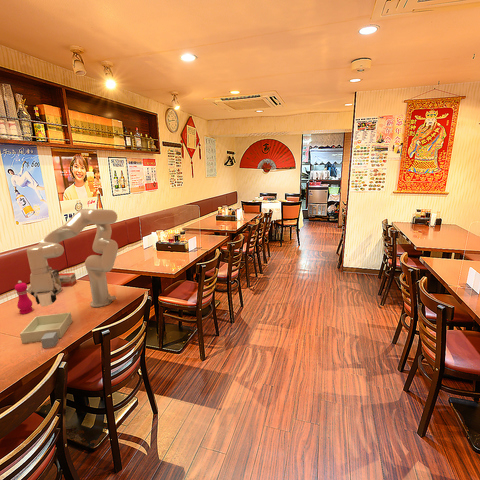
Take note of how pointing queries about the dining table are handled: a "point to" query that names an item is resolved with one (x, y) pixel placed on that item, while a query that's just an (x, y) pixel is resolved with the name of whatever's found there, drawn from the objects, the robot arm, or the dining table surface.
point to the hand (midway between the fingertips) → (46, 301)
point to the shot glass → (45, 298)
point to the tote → (46, 327)
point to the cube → (49, 340)
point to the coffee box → (56, 279)
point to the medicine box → (67, 279)
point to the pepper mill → (23, 298)
